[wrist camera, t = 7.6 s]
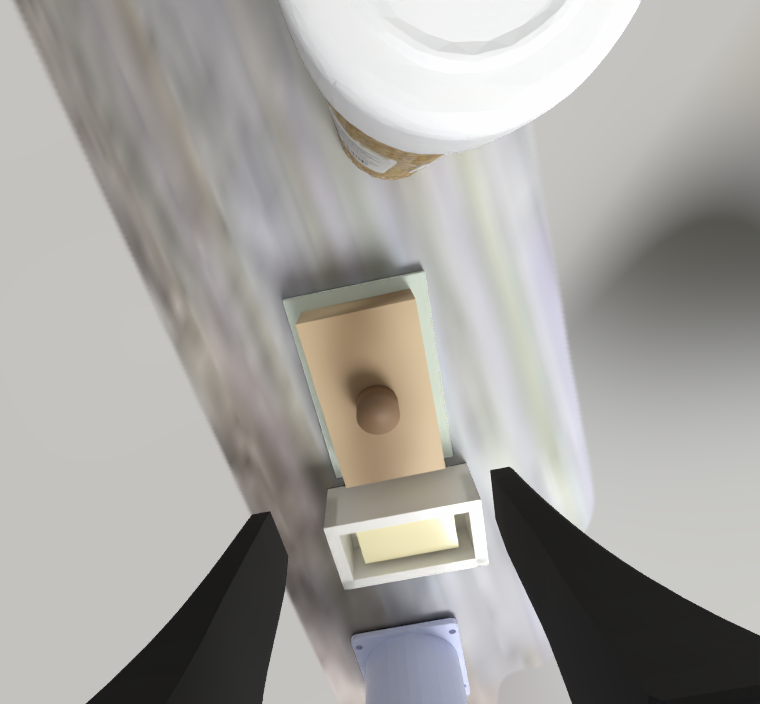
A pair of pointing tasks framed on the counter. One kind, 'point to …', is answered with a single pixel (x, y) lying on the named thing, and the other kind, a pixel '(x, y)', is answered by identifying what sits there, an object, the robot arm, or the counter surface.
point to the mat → (366, 290)
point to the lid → (373, 386)
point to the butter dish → (400, 512)
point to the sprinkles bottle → (445, 69)
